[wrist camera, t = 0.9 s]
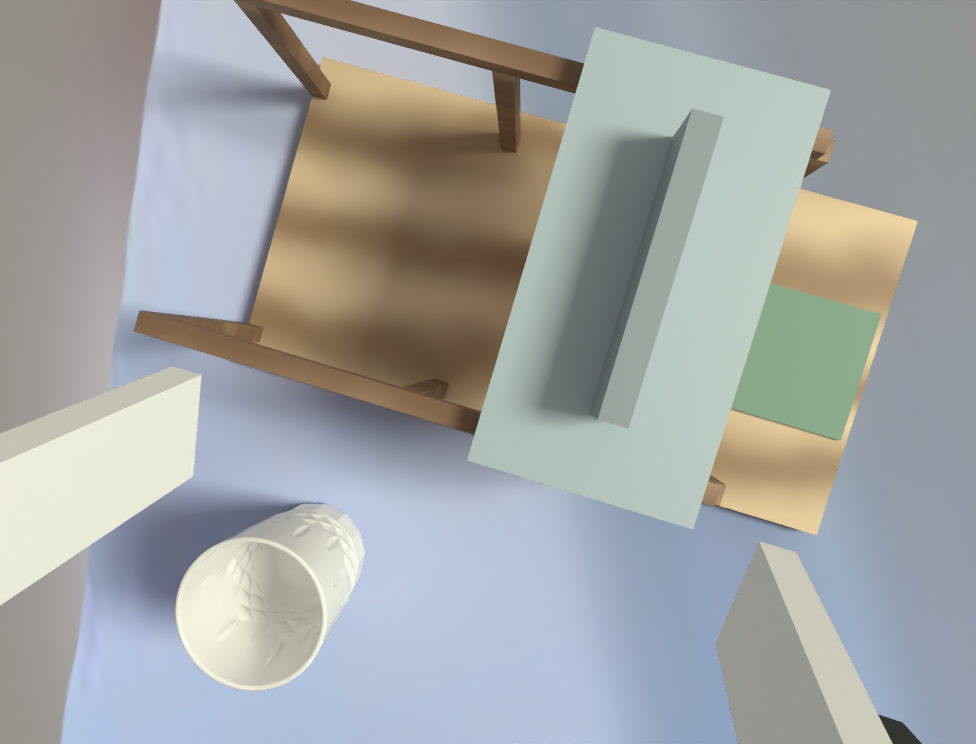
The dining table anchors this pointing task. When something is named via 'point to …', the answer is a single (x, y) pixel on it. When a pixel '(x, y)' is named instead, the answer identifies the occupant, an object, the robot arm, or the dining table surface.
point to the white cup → (269, 596)
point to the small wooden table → (481, 248)
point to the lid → (647, 275)
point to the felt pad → (806, 361)
